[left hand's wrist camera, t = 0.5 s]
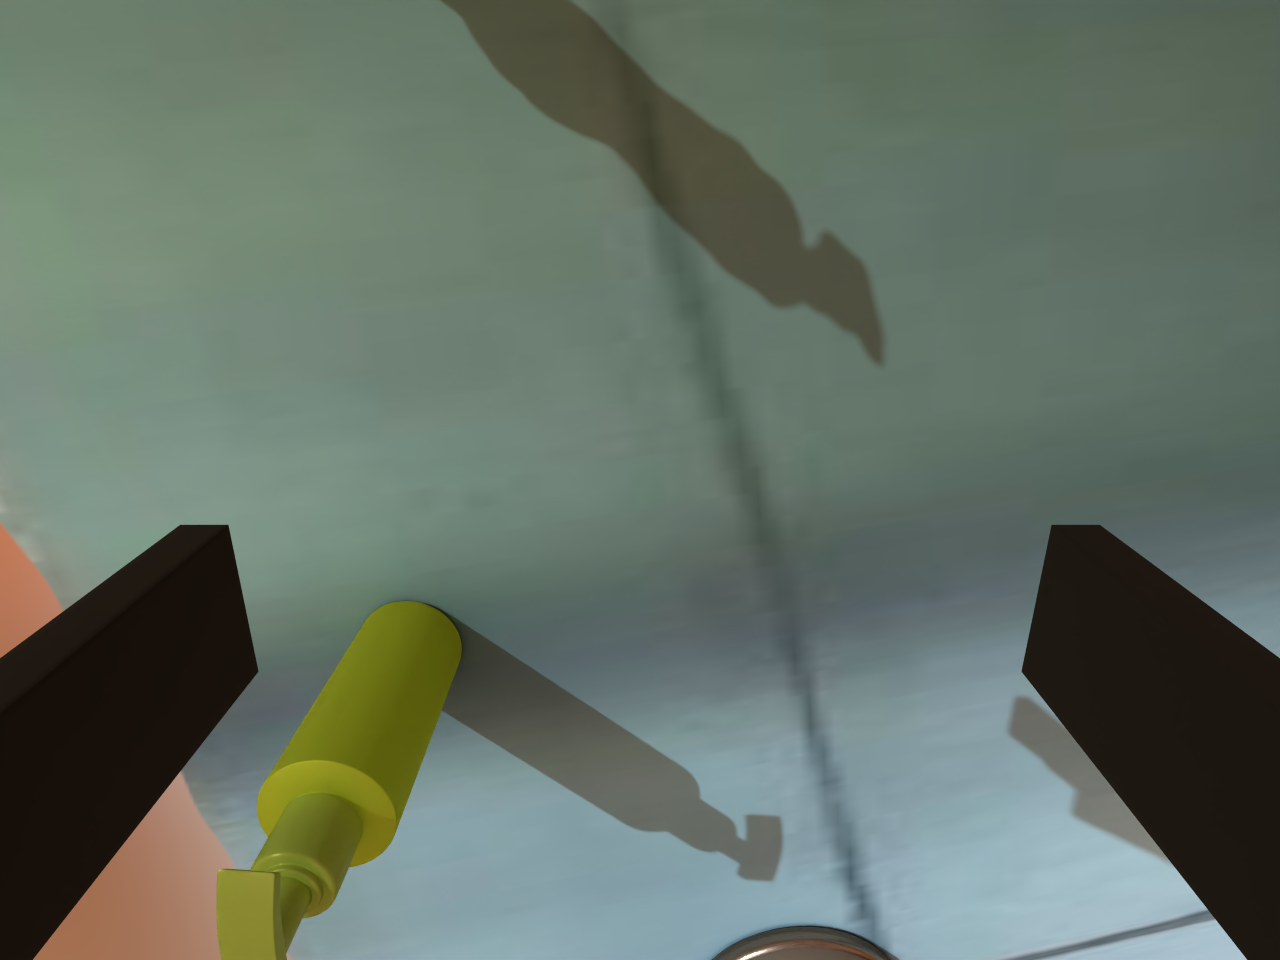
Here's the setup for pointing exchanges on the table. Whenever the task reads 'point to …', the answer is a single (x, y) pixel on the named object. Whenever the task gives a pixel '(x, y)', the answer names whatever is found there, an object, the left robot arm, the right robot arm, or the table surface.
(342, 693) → the soap dispenser
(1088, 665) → the left robot arm
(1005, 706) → the table surface
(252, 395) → the table surface
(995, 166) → the table surface
